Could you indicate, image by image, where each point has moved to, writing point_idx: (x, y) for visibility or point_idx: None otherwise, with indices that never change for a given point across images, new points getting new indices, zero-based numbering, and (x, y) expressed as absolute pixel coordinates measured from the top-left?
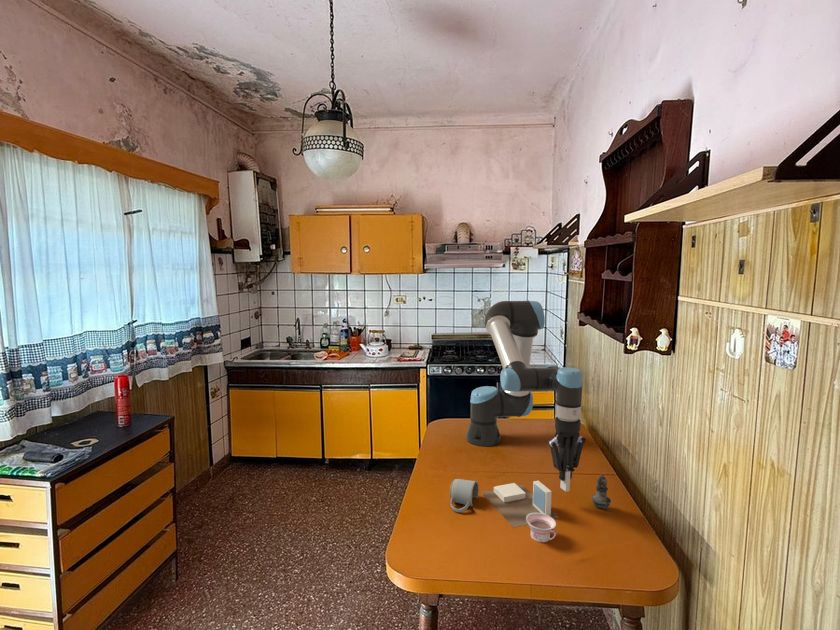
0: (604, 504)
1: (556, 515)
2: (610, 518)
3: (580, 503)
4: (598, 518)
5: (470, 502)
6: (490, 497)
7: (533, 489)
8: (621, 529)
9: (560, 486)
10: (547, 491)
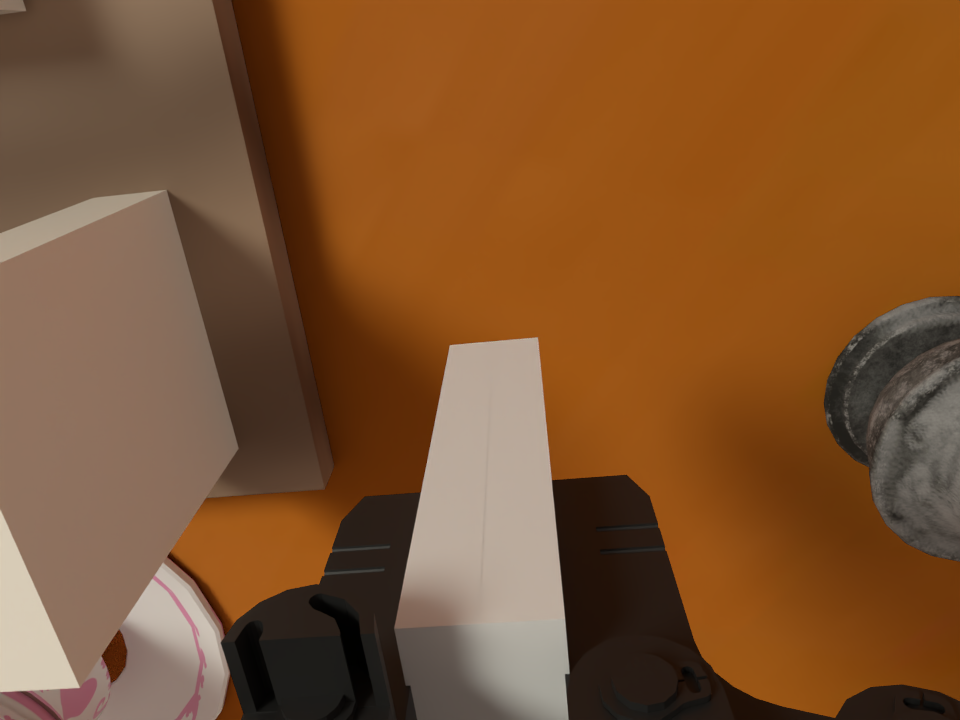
0: (938, 553)
1: (308, 456)
2: (883, 537)
3: (796, 217)
4: (764, 512)
5: None
6: None
7: None
8: (832, 676)
9: (449, 357)
10: (6, 675)
